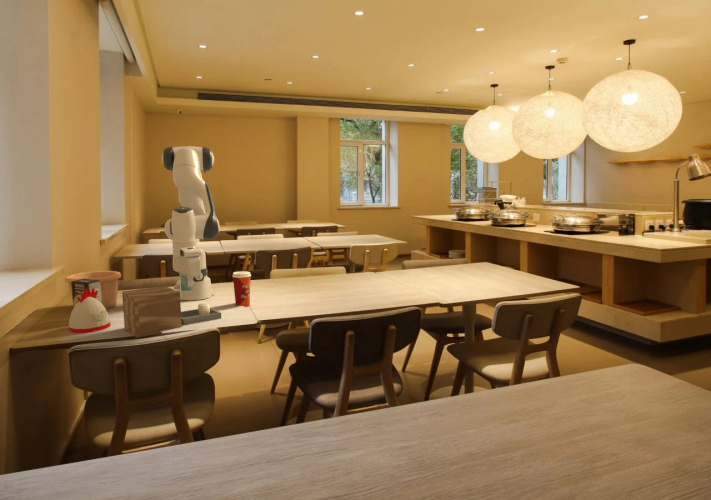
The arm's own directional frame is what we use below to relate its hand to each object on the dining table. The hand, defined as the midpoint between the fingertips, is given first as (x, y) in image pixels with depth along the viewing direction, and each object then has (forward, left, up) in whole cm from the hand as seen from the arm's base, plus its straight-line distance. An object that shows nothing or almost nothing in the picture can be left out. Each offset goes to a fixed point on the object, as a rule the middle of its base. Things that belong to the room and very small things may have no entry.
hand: (186, 285), depth 191 cm
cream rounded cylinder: (0, +6, -14) cm, 15 cm away
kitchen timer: (-17, -32, -15) cm, 39 cm away
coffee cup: (-11, +28, -15) cm, 34 cm away
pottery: (-52, -23, -15) cm, 59 cm away
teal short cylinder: (0, 0, -2) cm, 2 cm away
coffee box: (-30, -30, -15) cm, 45 cm away
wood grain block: (0, -14, -15) cm, 20 cm away
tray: (0, +3, -15) cm, 15 cm away
